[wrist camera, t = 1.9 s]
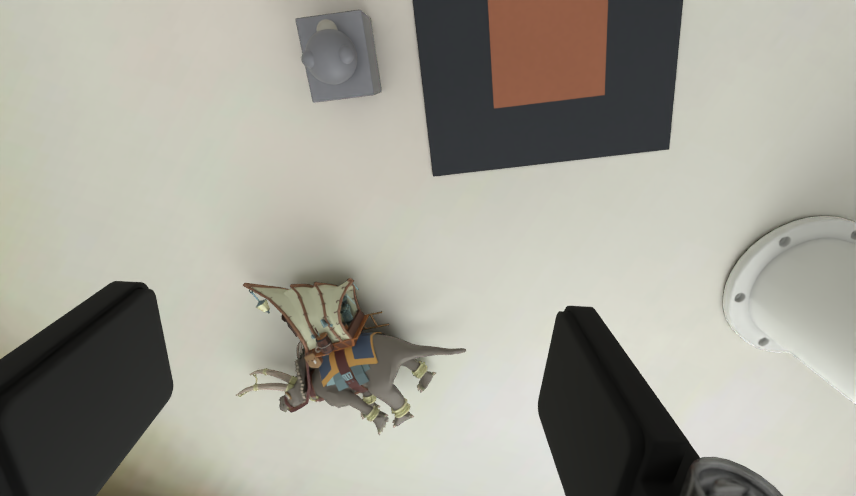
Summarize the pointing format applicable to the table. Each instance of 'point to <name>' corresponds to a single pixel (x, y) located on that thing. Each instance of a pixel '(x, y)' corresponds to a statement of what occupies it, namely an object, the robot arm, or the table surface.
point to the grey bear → (339, 55)
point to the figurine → (341, 353)
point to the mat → (545, 79)
